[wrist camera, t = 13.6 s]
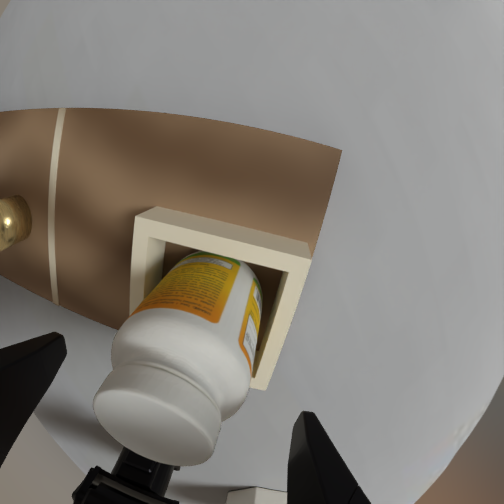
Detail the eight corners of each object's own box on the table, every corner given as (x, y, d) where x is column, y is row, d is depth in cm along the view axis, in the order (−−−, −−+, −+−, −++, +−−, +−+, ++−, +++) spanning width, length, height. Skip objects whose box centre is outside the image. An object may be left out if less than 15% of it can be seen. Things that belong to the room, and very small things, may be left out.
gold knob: (32, 245, 17) (7, 257, 14) (7, 235, 17) (-17, 245, 14) (32, 198, 16) (4, 206, 13) (6, 191, 16) (-20, 199, 13)
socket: (268, 363, 17) (265, 390, 15) (146, 329, 18) (129, 351, 15) (307, 242, 15) (312, 260, 12) (156, 206, 15) (135, 216, 12)
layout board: (272, 363, 19) (271, 375, 18) (-31, 247, 20) (-39, 251, 18) (337, 150, 14) (342, 150, 13) (-29, 116, 15) (-38, 117, 14)
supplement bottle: (152, 286, 16) (54, 400, 7) (214, 226, 15) (117, 336, 6) (216, 347, 17) (169, 483, 8) (283, 299, 16) (277, 456, 7)
